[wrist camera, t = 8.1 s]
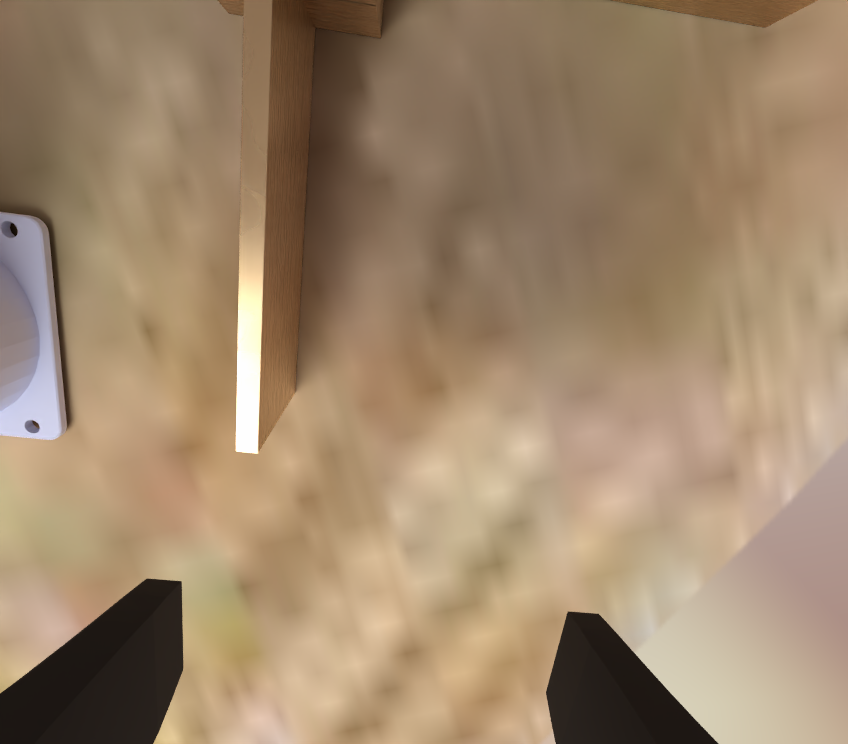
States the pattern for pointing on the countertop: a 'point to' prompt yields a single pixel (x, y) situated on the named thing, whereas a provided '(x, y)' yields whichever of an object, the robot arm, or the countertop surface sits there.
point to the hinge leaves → (287, 177)
